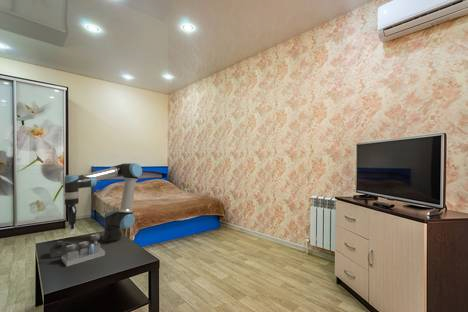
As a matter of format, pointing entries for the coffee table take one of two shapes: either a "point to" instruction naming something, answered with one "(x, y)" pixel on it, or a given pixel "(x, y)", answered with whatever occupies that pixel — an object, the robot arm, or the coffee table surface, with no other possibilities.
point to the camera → (59, 249)
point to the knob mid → (84, 244)
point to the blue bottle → (91, 248)
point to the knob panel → (82, 255)
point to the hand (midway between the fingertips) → (72, 233)
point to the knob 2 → (95, 238)
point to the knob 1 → (71, 247)
